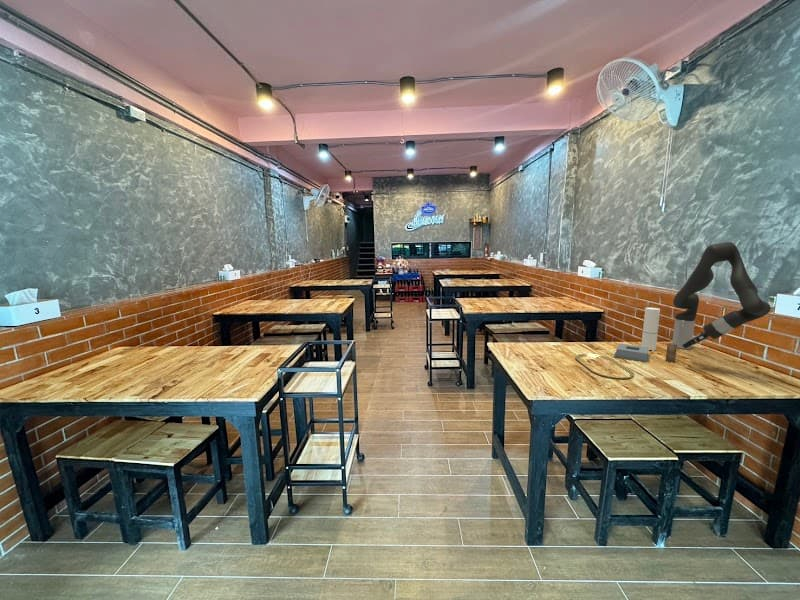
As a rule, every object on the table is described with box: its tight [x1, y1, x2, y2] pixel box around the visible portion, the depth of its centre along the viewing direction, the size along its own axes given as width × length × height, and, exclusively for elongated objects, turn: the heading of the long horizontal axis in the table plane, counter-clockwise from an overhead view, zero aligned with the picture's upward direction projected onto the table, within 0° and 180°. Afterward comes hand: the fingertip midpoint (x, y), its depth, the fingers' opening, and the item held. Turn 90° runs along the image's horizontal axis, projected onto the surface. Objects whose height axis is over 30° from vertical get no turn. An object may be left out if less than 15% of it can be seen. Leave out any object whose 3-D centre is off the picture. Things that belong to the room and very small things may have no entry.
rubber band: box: [575, 353, 635, 380], centre depth 174 cm, size 19×35×2 cm, turn 176°
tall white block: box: [640, 307, 661, 351], centre depth 200 cm, size 7×7×25 cm
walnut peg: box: [665, 342, 678, 363], centre depth 180 cm, size 4×4×10 cm
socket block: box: [613, 343, 651, 363], centre depth 189 cm, size 16×16×5 cm
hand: (686, 345), depth 175 cm, fingers open, 8 cm apart
